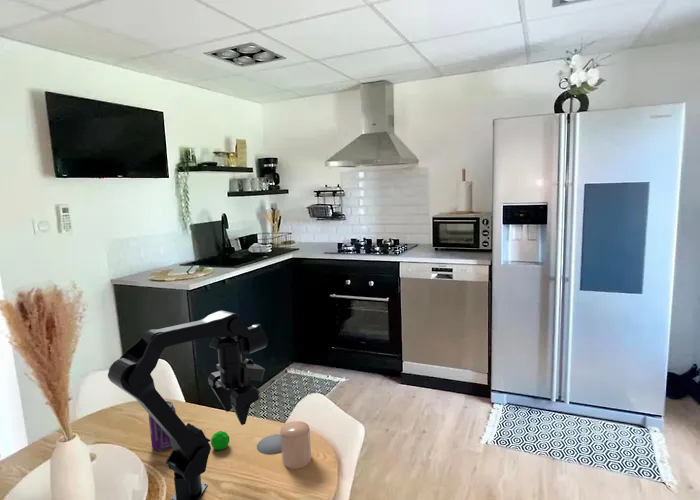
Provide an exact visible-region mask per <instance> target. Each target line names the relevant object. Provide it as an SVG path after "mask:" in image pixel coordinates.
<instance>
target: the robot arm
mask: <svg viewBox="0 0 700 500" xmlns="http://www.w3.org/2000/svg"><path fill="white" fill-rule="evenodd" d="M262 326H263V325H262V324H260V323H256V324H252V325H251V326H249V327H248V326H246V325H245V323H244V322H243V318H242V316H241V315H240V314H238V313H235V312H232V311H231V312H230V311H227V310H218V311H215V312H212V313H211V314H208V315H207V316H205V317H204V318H202V319H200V320H196V321H195V320H194V321H190V322H186V323H180V324H177V325H172V326H167V327H163V328H158V329H149V330H146V331H144V333H143V334H142V336H141V337H140V338H139V339H138V340H137V341H136V342H135V343H134V344H132V345H131V346H130V347H128V348H127V349H126V350H125V351H124V352H123V353H122V354H121V356H120V357H119V358H118V359H117V360H115V361H114V362H113V363H112V364H111V365H110V366H109V369H108V372H107V378H108V379H109V381H110V382H111V383H112V384H114V385H115V386H116V387H118V388H119V389H120V390H121V391H124V392H125V393H127V394H128V395H130V397H132V398H134V399H135V400H136V401H137V402H138V403H139V405H140V406H141V407H142V408H143V409H144V410H145V411H146V412H147V413H148V415H150V416H151V417H152V418H153V419H154V420H155V421H156V423H157V424H158V425H159V426H160V427H161V428H162V429H163V430H164V432H165V433H166V434H167V435H168V436H169V438H170V442H171V446H172V447H171V449H172V452H171V453H170V455H169V456H168V458H167V459H166V461H165V464H166V466H167V468H168V469H169V470H171V471H173V476H174V477H173V482H174V492H175V493H174V494H173V496H172V497H171V499H170V500H200V498H201V497H202V496H203V494H204V493H205V491H206V489H207V488H208V483H207V482H206V483H204V482H202V476H201V475H202V474H203V473H205V472H206V469H207V466H208V462H209V461H208V460H209V456H210V453H211V449H212V445H211V439H210V438H208V437H206V435H205V433H204V431H203V430H202V429H201V428H199V427H197V426H196V425H194V424H191V423H190V422H188V423H187V424H185V423H184V421H183V420H182V419H181V418H180V417H179V415H178V414H176V413H175V412H174V411H173V410H172V408H171V407H170V406H169V405H168V404H167V402H166V401H167V400H165V399H164V397H163V396H162V395H161V394H160V392H158V390H157V389H156V386H155V382H154V377H153V376H152V372H153V371H154V370H155V369H156V367H157V365H158V361H159V360H160V357H161V354H162V352H163V351H164V350H165V348H170V347H174V346H178V345H181V344H185V343H190V342H193V341H197V340H201V339H205V338H213V340H211V342H209V344H208V346H209V348H213V349H216V350H217V358H218V363H217V364H215V365H216V369H217V371H214V372H210V374H209V375H208V377H207V381H208V382H207V383H208V385H209V386H210V389H212V391H213V393H214V394H215V395H216V397H217V399H218V401H219V402H220V404H221V406H222V407H223V408H224V411H225V412H226V413H228V412H231V408H232V409H233V411H234V414H235V415H236V417H237V419H238V421H239V423H240V425H241V426H244V425H246V424H247V419H248V415H249V411H250V408H251V406H252V404H253V403H255V402H257V401H259V400H261V395H260V394H261V393H260V390H259V389H257V388H256V387H255V386H253V385H251V384H248V383H250V381H258V382H262V381H263V378H264V374H265V371H266V369H265V368H264V367H263V366H261V365H258V364H256V363H254V361H253V360H252V359H251V358H245V359H244V360H243V356H242V354H244V355H250V354H252V353H255V352H257V351H260V350H262V349H265V348H266V347H268V343H269V339H268V337H267V334H266V331H265V330H264V329H263V328H262ZM243 384H244V386H243ZM245 384H246V385H245ZM247 384H248V385H247ZM209 442H210V443H209Z"/></svg>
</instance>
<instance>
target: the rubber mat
mask: <svg viewBox="0 0 700 500" xmlns="http://www.w3.org/2000/svg"><path fill="white" fill-rule="evenodd" d="M256 449H257V451H258V452H259V453H261V454H263V455H267V456H268V455H271V456H273V455H278V454H282V451H281V437H280V433H277V434H270V435H268V436H265V437H263V438H262V439H260V440H259V441H258V443H257V444H256Z"/></svg>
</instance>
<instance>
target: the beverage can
mask: <svg viewBox="0 0 700 500" xmlns="http://www.w3.org/2000/svg"><path fill="white" fill-rule="evenodd" d="M165 401H166V402H167V404H168V405H169V406H170V407H171V408H172V410H173V411H174V412H175V413H176V408H175V406H174V403H173V402H172V401H171V400H170V401H169V400H165ZM148 422H149V423H148V424H149V433H150V440H151V441H150V442H151V447H152V449H153V450H156V451H166V450H169V449H172V446H171V442H170V438H169V436H168V435H167V434H166V433H165V432H164V430H163V429H162V428H161V427H160V426H159V425H158V424H157V423H156V421H155V420H154V419H153V418H152V417H151V416H150V415H149V414H148Z"/></svg>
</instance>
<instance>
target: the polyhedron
mask: <svg viewBox="0 0 700 500" xmlns="http://www.w3.org/2000/svg"><path fill="white" fill-rule="evenodd" d="M230 440H231V439H230V436H229V434H228V433H227V432H226V431H221V430H219V431H217V432H215V433H213V435H212V436H211V439H210V446H211V448H213V450H217V451H222V450H224V449H225V448H227V447H228V445H229V444H230Z"/></svg>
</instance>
